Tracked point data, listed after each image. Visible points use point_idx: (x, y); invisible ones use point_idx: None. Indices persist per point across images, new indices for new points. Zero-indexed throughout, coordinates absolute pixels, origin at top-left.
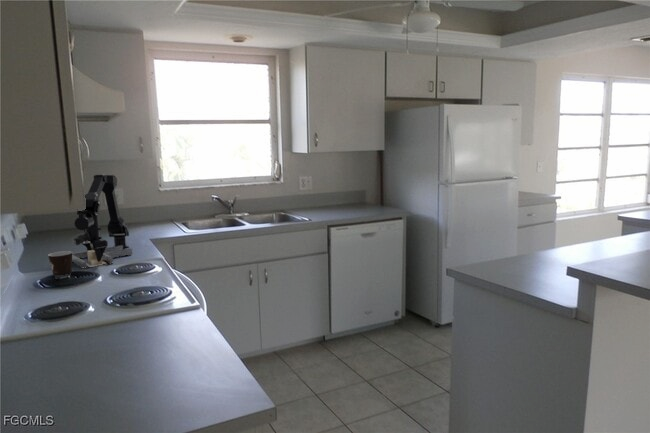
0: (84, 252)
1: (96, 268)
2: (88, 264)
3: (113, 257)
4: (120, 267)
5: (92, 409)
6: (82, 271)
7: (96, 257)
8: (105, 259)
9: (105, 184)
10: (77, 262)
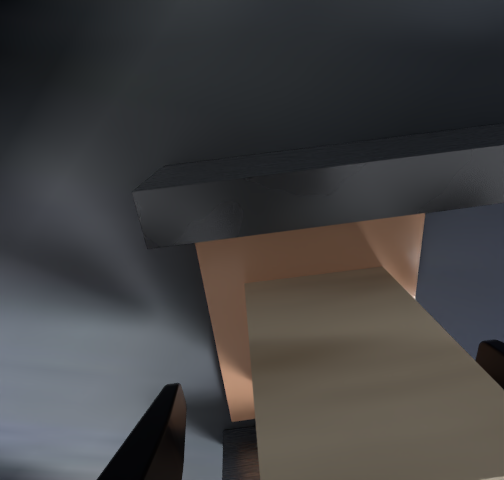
0: None
1: (101, 302)
2: (344, 259)
3: None
4: (10, 472)
5: None
6: (14, 115)
7: (139, 448)
8: None
9: None
10: (497, 132)
